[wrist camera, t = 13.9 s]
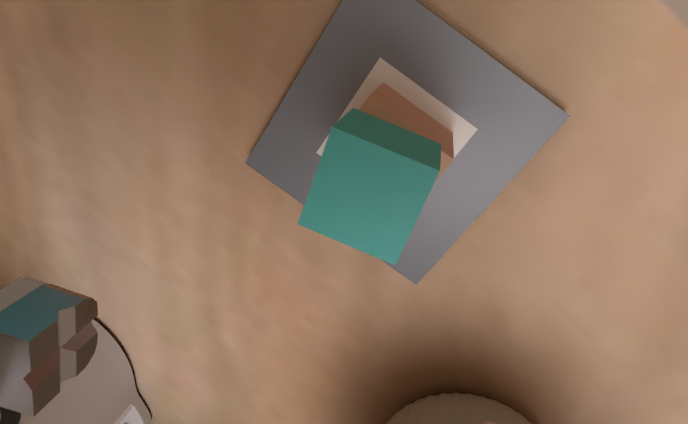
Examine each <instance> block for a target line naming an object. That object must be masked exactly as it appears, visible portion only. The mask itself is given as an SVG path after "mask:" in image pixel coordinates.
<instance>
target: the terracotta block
mask: <svg viewBox="0 0 688 424" xmlns="http://www.w3.org/2000/svg"><path fill="white" fill-rule="evenodd" d="M359 110H360V111H362V112H364V113H367V114H369V115H372V116H374V117H377V118H379V119H382V120H384V121H387V122H389V123H391V124H394V125H396V126H399V127H401V128H404V129H406V130H409V131H411V132H414V133H416V134H419V135H421V136H423V137H426V138H428V139H431V140H433V141H436V142H438V143H441V144H442V146H441V162H440V172H439V174H438V176H437V178H436V180H435V182H436V181H437V179H438V178H439V177H440V176H441V175H442V173H443V172H444V171H445V170H446V168H447V167H448V166H449V165H450V164H451V162H452V161H453V160H454V148H453V133H452V132H451V131H450V130H448V129H447V128H446V127H444V126H443V125H441V124H440V123H439V122H437V121H436V120H435V119H433V118H432V117H431V116H429V115H428V114H426V113H425V112H424V111H422V110H421V109H420V108H418V107H417V106H416V105H414V104H413V103H411V102H410V101H409V100H407V99H406V98H405V97H403V96H402V95H401V94H399V93H398V92H396V91H395V90H394V89H392V88H391V87H390V86H388V85H387V84H386V83H383V84H382V85H381V86H380V87H378V88H377V89H376V90H375V91H374V92H373V93H372V94H371V95H370V96H368V98H367V99H366V101H365V102H364V103H363V105H362V106H361V108H360V109H359ZM314 176H315V175H314ZM313 179H314V177H313Z"/></svg>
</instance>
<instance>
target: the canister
mask: <svg viewBox="0 0 688 424" xmlns="http://www.w3.org/2000/svg"><path fill="white" fill-rule="evenodd" d="M485 421H490V422H493V423H496V424H532V423H531V422H530V421H528V420H526V418H525V417H524V416H523V415H522V414H520V413H518V412H516V411H513V410H512V408H511V407H509V406H507V405H503V404H501V403H499V402H498V401H496V400H490V399H487V398H485V397H484V396H475V395H471V394H469V393H467V394H458V393H456V392H455V393H452V394H444V393H441V394H440V395H436V396H432V395H429V396H428V397H426V398H424V399H418V400H416V401H415V402H414V403H412V404H408V405H406V406H405V407H404V408H403V409H402V410H400V411H398V412H397V413H396V414H395V415H394V416H393V417H392V419H391V420H389V421H388V422H387V423H386V424H484V423H485Z"/></svg>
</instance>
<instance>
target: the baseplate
mask: <svg viewBox="0 0 688 424" xmlns="http://www.w3.org/2000/svg"><path fill="white" fill-rule="evenodd" d="M383 83H386V84H387V85H388V86H390V87H391V88H392V89H394V90H395V91H396V92H398V93H399V94H401V95H402V96H403V97H405V98H406V99H407V100H409V101H410V102H411V103H413V104H414V105H416V106H417V107H418V108H420V109H421V110H422V111H424V112H425V113H426V114H428V115H429V116H431V117H432V118H433V119H435V120H436V121H437V122H439V123H440V124H441V125H443V126H444V127H446V128H447V129H448V130H450V131H451V132H452V133H453V148H454V160H453V161H452V162H451V164H450V165H449V166H448V167H447V168H446V170H445V171H444V172H443V173H442V175H441V176H440V177H439V178H438V179H437V181H436V182H435V183H434V185H433V187H432V189H431V191H430V193H429V195H428V197H427V200H426V202H425V204H424V206H423V208H422V210H421V212H420V214H419V217H418V219H417V221H416V223H415V225H414V227H413V229H412V231H411V234H410V236H409V238H408V240H407V242H406V244H405V246H404V248H403V251H402V253H401V255H400V257H399V259H398V261H397V263H396V265H393V264H391V263H389V262H386V261H384V260H382V259H381V260H382V261H384V262H385V263H386V264H388V265H389V266H391V267H392V268H394V269H395V270H396V271H398V272H399V273H401V274H402V275H403V276H405V277H406V278H408V279H409V280H410V281H412V282H413V283H415V284H417V283H418V282H419V281H420V280H421V279H422V278H423V277H424V276H425V275H426V273H427V272H428V271H429V270H430V269H431V268H432V267H433V266H434V265H435V264H436V262H437V261H438V260H439V259H440V258H441V257H442V256H443V255H444V254H445V253H446V252H447V250H448V249H449V248H450V247H451V246H452V245H453V244H454V243H455V242H456V241H457V239H458V238H459V237H460V236H461V235H462V234H463V233H464V232H465V231H466V230H467V228H468V227H469V226H470V225H471V224H472V223H473V222H474V221H475V220H476V219H477V217H478V216H479V215H480V214H481V213H482V212H483V211H484V210H485V209H486V208H487V207H488V205H489V204H490V203H491V202H492V201H493V200H494V199H495V198H496V197H497V196H498V194H499V193H500V192H501V191H502V190H503V189H504V188H505V187H506V186H507V185H508V183H509V182H510V181H511V180H512V179H513V178H514V177H515V176H516V175H517V174H518V172H519V171H520V170H521V169H522V168H523V167H524V166H525V165H526V164H527V163H528V162H529V160H530V159H531V158H532V157H533V156H534V155H535V154H536V153H537V152H538V151H539V149H540V148H541V147H542V146H543V145H544V144H545V143H546V142H547V141H548V140H549V138H550V137H551V136H552V135H553V134H554V133H555V132H556V131H557V130H558V129H559V127H560V126H561V125H562V124H563V123H564V122H565V121H566V120H567V119H568V118H569V117H570V115H569V114H567V113H566V112H565V111H563V110H562V109H561V108H559V107H558V106H557V105H555V104H554V103H553V102H551V101H550V100H549V99H547V98H546V97H545V96H543V95H542V94H541V93H539V92H538V91H537V90H535V89H534V88H533V87H531V86H530V85H529V84H527V83H526V82H524V81H523V80H522V79H520V78H519V77H518V76H516V75H515V74H514V73H512V72H511V71H510V70H508V69H507V68H506V67H504V66H503V65H502V64H500V63H499V62H498V61H496V60H495V59H494V58H492V57H491V56H490V55H488V54H487V53H486V52H484V51H483V50H482V49H480V48H479V47H478V46H476V45H475V44H474V43H472V42H471V41H470V40H468V39H467V38H466V37H464V36H463V35H462V34H460V33H459V32H458V31H456V30H455V29H454V28H452V27H451V26H450V25H448V24H447V23H446V22H444V21H443V20H442V19H440V18H439V17H438V16H436V15H435V14H433V13H432V12H431V11H429V10H428V9H427V8H425V7H424V6H423V5H421V4H420V3H419V2H417V1H416V0H342V2H341V4H340V5H339V7H338V9H337V10H336V12H335V14H334V15H333V17H332V19H331V20H330V22H329V24H328V25H327V27H326V29H325V30H324V32H323V34H322V35H321V37H320V39H319V40H318V42H317V44H316V45H315V47H314V49H313V50H312V52H311V54H310V56H309V57H308V59H307V61H306V62H305V64H304V66H303V67H302V69H301V71H300V72H299V74H298V76H297V77H296V79H295V81H294V82H293V84H292V86H291V87H290V89H289V91H288V92H287V94H286V96H285V97H284V99H283V101H282V102H281V104H280V106H279V108H278V109H277V111H276V113H275V114H274V116H273V118H272V119H271V121H270V123H269V124H268V126H267V128H266V129H265V131H264V133H263V134H262V136H261V138H260V139H259V141H258V143H257V144H256V146H255V148H254V149H253V151H252V153H251V154H250V156H249V158H248V159H247V161H246V164H247V165H249V166H250V167H251V168H253V169H254V170H256V171H257V172H258V173H260V174H261V175H263V176H264V177H265V178H267V179H268V180H270V181H271V182H272V183H274V184H275V185H277V186H278V187H279V188H281V189H282V190H284V191H285V192H287V193H288V194H289V195H291V196H292V197H294V198H295V199H296V200H298V201H299V202H301V203H302V204H303V205H305V202H306V199H307V196H308V193H309V190H310V187H311V185H312V182H313V177H314V175H315V173H316V170H317V167H318V165H319V162H320V159H321V156H322V153H323V150H324V147H325V145H326V142H327V139H328V136H329V133H330V130H331V127H332V126H333V125H334V124H335V123H337V122H338V121H339V120H340V119H341V118H342V117H343V116H344V115H346V114H347V113H348V112H349V111H350V110H351V109H352V108H355V109H357V110H359V109H360V108H361V106H362V105H363V103H364V102H365V101H366V99H367V98H368V96H370V95H371V94H372V93H373V92H374V91H375V90H376V89H377V88H378V87H380V86H381V85H382V84H383Z"/></svg>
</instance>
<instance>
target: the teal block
mask: <svg viewBox="0 0 688 424" xmlns="http://www.w3.org/2000/svg"><path fill="white" fill-rule="evenodd" d="M441 146H442V144H441V143H438V142H436V141H433V140H431V139H428V138H426V137H423V136H421V135H419V134H416V133H414V132H411V131H409V130H406V129H404V128H401V127H399V126H396V125H394V124H391V123H389V122H387V121H384V120H382V119H379V118H377V117H374V116H372V115H369V114H367V113H364V112H362V111H360V110H357V109H355V108H352V109H351V110H350V111H349V112H348V113H347V114H346V115H344V116H343V117H342V118H341V119H340V120H339V121H338V122H337V123H335V124H334V125H333V126H332V127H331V130H330V133H329V136H328V139H327V142H326V145H325V147H324V150H323V153H322V156H321V159H320V162H319V165H318V167H317V170H316V173H315V176H314V179H313V182H312V185H311V187H310V190H309V193H308V196H307V199H306V202H305V205H304V207H303V210H302V213H301V216H300V219H299V222H298V224H299V225H301V226H304V227H306V228H308V229H311V230H313V231H315V232H318V233H320V234H323V235H325V236H327V237H330V238H332V239H334V240H337V241H339V242H341V243H344V244H346V245H349V246H351V247H353V248H356V249H358V250H360V251H363V252H365V253H367V254H370V255H372V256H375V257H377V258H379V259H382V260H384V261H386V262H389V263H391V264H393V265H396V263H397V261H398V259H399V257H400V255H401V253H402V251H403V248H404V246H405V244H406V242H407V240H408V238H409V236H410V234H411V231H412V229H413V227H414V225H415V223H416V221H417V219H418V217H419V214H420V212H421V210H422V208H423V206H424V204H425V202H426V200H427V197H428V195H429V193H430V191H431V189H432V187H433V185H434V183H435V180H436V178H437V176H438V174H439V172H440V162H441Z"/></svg>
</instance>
